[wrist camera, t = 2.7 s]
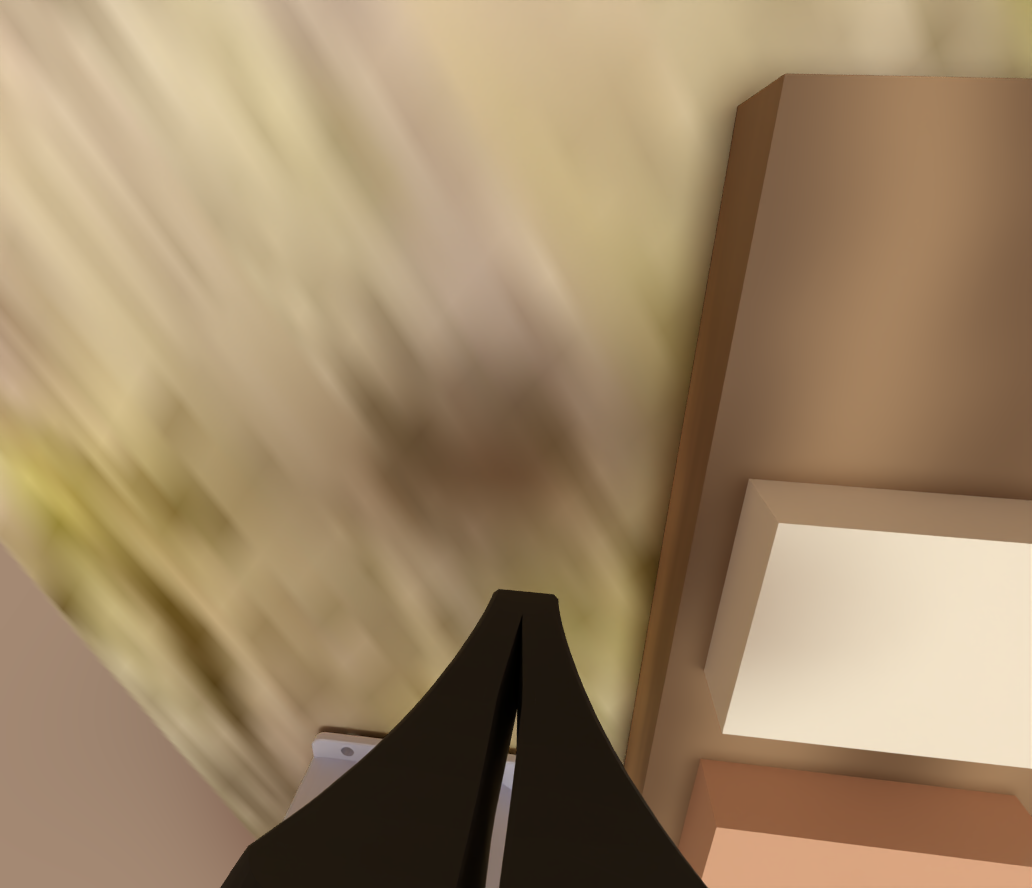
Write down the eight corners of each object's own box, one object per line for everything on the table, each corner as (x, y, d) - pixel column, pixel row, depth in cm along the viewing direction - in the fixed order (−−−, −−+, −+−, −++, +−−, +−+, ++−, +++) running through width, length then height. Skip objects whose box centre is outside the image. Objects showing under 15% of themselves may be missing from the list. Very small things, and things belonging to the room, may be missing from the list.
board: (618, 796, 22) (625, 879, 19) (737, 106, 12) (785, 73, 10) (930, 834, 21) (984, 928, 18) (1316, 120, 11) (1554, 89, 9)
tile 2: (670, 877, 19) (681, 949, 17) (700, 758, 16) (716, 826, 14) (943, 914, 18) (985, 992, 16) (1015, 795, 16) (1074, 872, 14)
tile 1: (704, 670, 15) (722, 733, 13) (748, 478, 13) (778, 522, 11) (1048, 706, 14) (1118, 778, 12) (1164, 510, 12) (1271, 563, 10)
